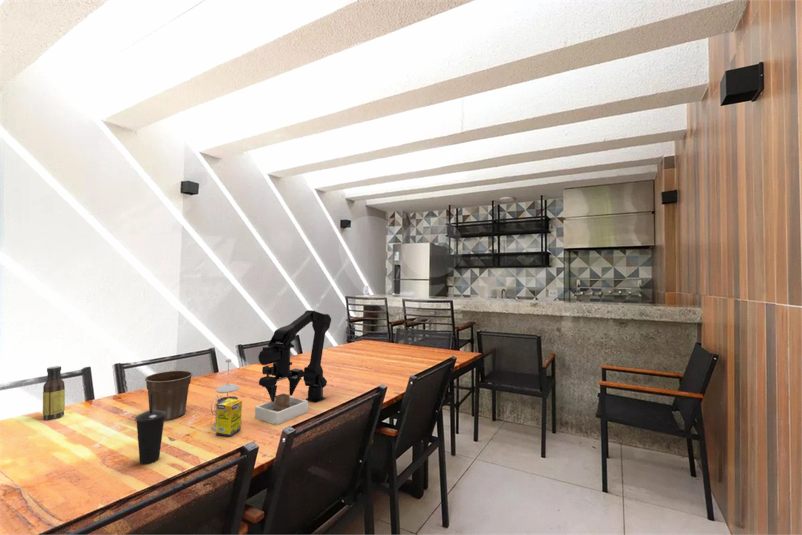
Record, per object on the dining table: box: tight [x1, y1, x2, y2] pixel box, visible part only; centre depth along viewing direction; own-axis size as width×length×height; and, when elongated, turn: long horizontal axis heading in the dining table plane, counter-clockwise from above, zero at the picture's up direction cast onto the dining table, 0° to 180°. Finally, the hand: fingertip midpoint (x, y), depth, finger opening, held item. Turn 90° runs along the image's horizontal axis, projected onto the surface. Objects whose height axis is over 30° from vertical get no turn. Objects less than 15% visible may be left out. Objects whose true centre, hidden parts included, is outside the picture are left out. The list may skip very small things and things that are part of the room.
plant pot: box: [144, 370, 193, 422], centre depth 143 cm, size 16×16×16 cm
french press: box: [210, 358, 240, 431], centre depth 133 cm, size 10×12×25 cm
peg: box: [275, 393, 291, 411], centre depth 145 cm, size 4×4×7 cm
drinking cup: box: [134, 394, 166, 465], centre depth 108 cm, size 8×8×20 cm
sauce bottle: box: [42, 365, 66, 421], centre depth 140 cm, size 6×6×20 cm
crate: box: [254, 396, 309, 426], centre depth 144 cm, size 16×13×4 cm
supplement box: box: [215, 398, 243, 438], centre depth 127 cm, size 6×6×11 cm
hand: (282, 398), depth 144 cm, fingers open, 9 cm apart
